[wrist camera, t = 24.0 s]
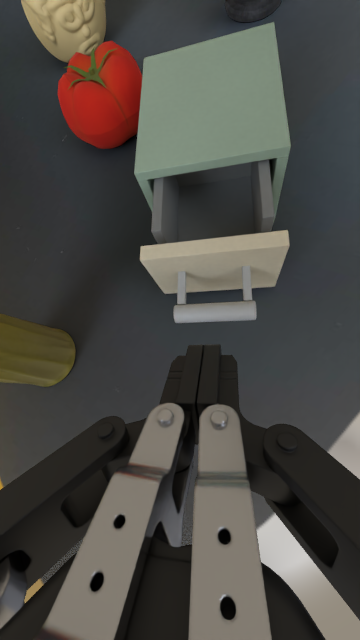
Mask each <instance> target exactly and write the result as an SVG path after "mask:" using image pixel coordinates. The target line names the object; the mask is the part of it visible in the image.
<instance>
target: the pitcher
mask: <svg viewBox="0 0 360 640" xmlns="http://www.w3.org/2000/svg"><path fill="white" fill-rule="evenodd" d="M280 3H281V0H226V2H225V9H226V11H227V14H228V16H229V17H230V18H232V19H233V20H235V21H239V22H254V21H257V20H260V19H263V18H265V17H267V16H268V15H270V14H271V13H273V12H274V11H275V10H276V9H277V7H278V6H279V5H280Z"/></svg>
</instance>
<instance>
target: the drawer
mask: <svg viewBox="0 0 360 640" xmlns="http://www.w3.org/2000/svg"><path fill="white" fill-rule="evenodd" d="M274 217H275V215H274V206H273V196H272V186H271V176H270V166H269V159H266V160H260V161H254V162H249V163H243V164H237V165H231V166H225V167H219V168H213V169H207V170H201V171H196V172H190V173H184V174H178V175H172V176H166V177H160V178H154V193H153V210H152V228H151V232H152V234H153V236H154V238H155V239H156V241H157V243H158V244H157V245H148V246H141V250H140V261H141V262H142V264H143V265H144V267H145V268H146V269H147V271H148V272H149V273H150V275H151V276H152V277H153V279H154V280H155V282H156V283H157V284H158V286H159V287H160V288H161V290H162V291H163V292H164V294H172V293H177V304H178V305H175V306H174V310H173V315H174V321H175V323H192V322H217V321H242V320H256V303H255V301H252V289H251V288H262V287H275V284H276V282H277V279H278V276H279V273H280V271H281V268H282V265H283V262H284V259H285V257H286V254H287V251H288V248H289V246H290V244H289V235H288V230H283V231H274V232H271V231H272V226H273V221H274ZM232 289H243V301H240V302H223V303H205V304H187V305H186V293H187V292H202V291H217V290H232Z"/></svg>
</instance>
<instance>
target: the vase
mask: <svg viewBox="0 0 360 640" xmlns="http://www.w3.org/2000/svg"><path fill="white" fill-rule="evenodd" d="M75 353H76V350H75V345H74V342H73V340H72V338H71V337H70V335H69V334H68V333H66V332H65V331H63V330H60V329H54V328H50V327H47V326H44V325H40V324H37V323H33V322H29V321H25V320H22V319H18V318H14V317H11V316H7V315H4V314H1V313H0V382H6V383H27V384H34V385H38V386H42V387H48V386H52V385H54V384H56V383H58V382H60V381H61V380H63V379H64V378H65V377H66V376H67V375H68V373H69V372H70V370H71V368H72V367H73V364H74V361H75Z"/></svg>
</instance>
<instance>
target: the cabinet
mask: <svg viewBox="0 0 360 640" xmlns="http://www.w3.org/2000/svg"><path fill="white" fill-rule="evenodd" d="M290 147H291V144H290V137H289V129H288V122H287V114H286V107H285V100H284V92H283V85H282V78H281V70H280V63H279V55H278V48H277V41H276V33H275V26H274V22H272V23H269V24H265V25H261V26H258V27H254V28H251V29H247V30H244V31H240V32H236V33H233V34H229V35H226V36H222V37H218V38H215V39H211V40H208V41H204V42H201V43H197V44H193V45H190V46H186V47H183V48H179V49H175V50H172V51H168V52H165V53H161V54H158V55H154V56H150V57H147V58H144V65H143V76H142V88H141V100H140V111H139V123H138V135H137V146H136V158H135V170H134V174H135V177H136V179H137V181H138V183H139V185H140V187H141V189H142V191H143V194H144V196H145V198H146V200H147V202H148V204H149V206H150V208H151V211H152V210H153V193H154V178H160V177H166V176H172V175H178V174H184V173H190V172H196V171H201V170H207V169H213V168H219V167H225V166H231V165H237V164H243V163H249V162H254V161H260V160H266V159H269V166H270V176H271V186H272V196H273V206H274V215H276V211H277V206H278V202H279V197H280V193H281V188H282V184H283V179H284V174H285V170H286V165H287V161H288V155H289V152H290ZM274 220H275V217H274ZM273 224H274V221H273Z"/></svg>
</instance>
